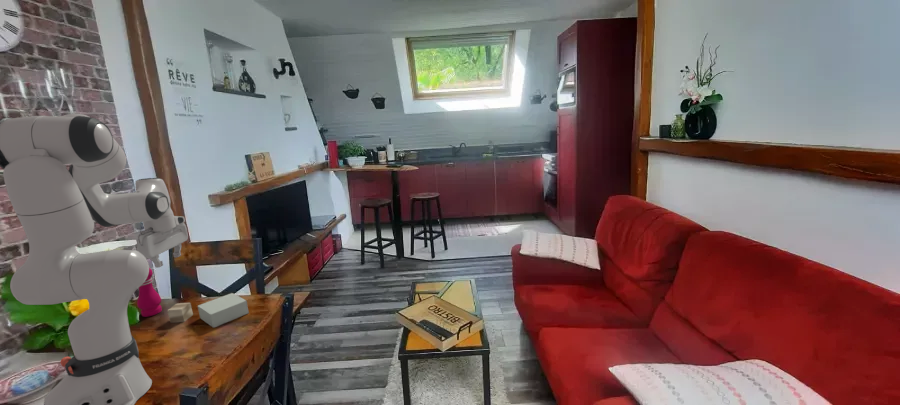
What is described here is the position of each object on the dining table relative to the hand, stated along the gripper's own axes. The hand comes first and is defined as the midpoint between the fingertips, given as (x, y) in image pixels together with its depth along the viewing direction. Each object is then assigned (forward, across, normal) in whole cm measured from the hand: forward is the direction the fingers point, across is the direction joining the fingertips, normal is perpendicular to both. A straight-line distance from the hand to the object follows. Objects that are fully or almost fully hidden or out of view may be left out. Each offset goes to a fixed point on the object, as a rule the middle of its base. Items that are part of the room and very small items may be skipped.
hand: (168, 261), depth 137 cm
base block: (+22, 0, -16) cm, 27 cm away
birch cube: (+22, 0, 0) cm, 22 cm away
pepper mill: (+22, +6, +15) cm, 28 cm away
